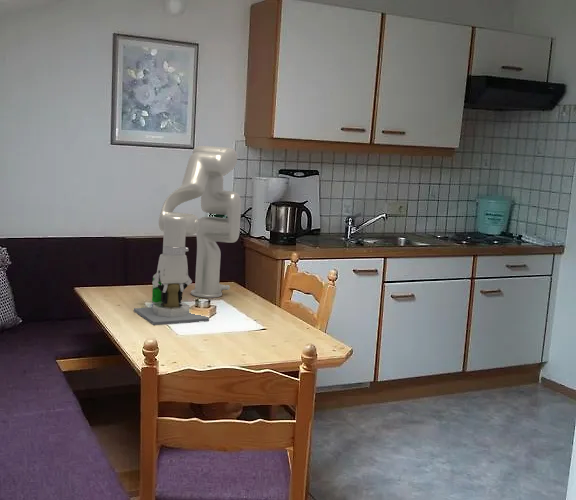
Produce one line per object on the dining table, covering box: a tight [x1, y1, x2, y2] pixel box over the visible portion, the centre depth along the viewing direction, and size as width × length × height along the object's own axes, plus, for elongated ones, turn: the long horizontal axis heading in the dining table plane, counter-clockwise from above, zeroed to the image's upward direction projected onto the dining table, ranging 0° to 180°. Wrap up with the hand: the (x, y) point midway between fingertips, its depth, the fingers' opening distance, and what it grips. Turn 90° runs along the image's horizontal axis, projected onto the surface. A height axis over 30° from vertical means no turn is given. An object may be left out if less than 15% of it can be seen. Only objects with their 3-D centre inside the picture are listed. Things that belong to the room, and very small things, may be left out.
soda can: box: [151, 272, 162, 305], centre depth 263 cm, size 8×8×12 cm
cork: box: [163, 284, 180, 308], centre depth 247 cm, size 6×6×11 cm
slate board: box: [133, 306, 210, 326], centre depth 248 cm, size 20×20×1 cm
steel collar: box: [152, 301, 190, 318], centre depth 248 cm, size 12×12×3 cm
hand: (171, 302), depth 248 cm, fingers closed on cork, 4 cm apart
